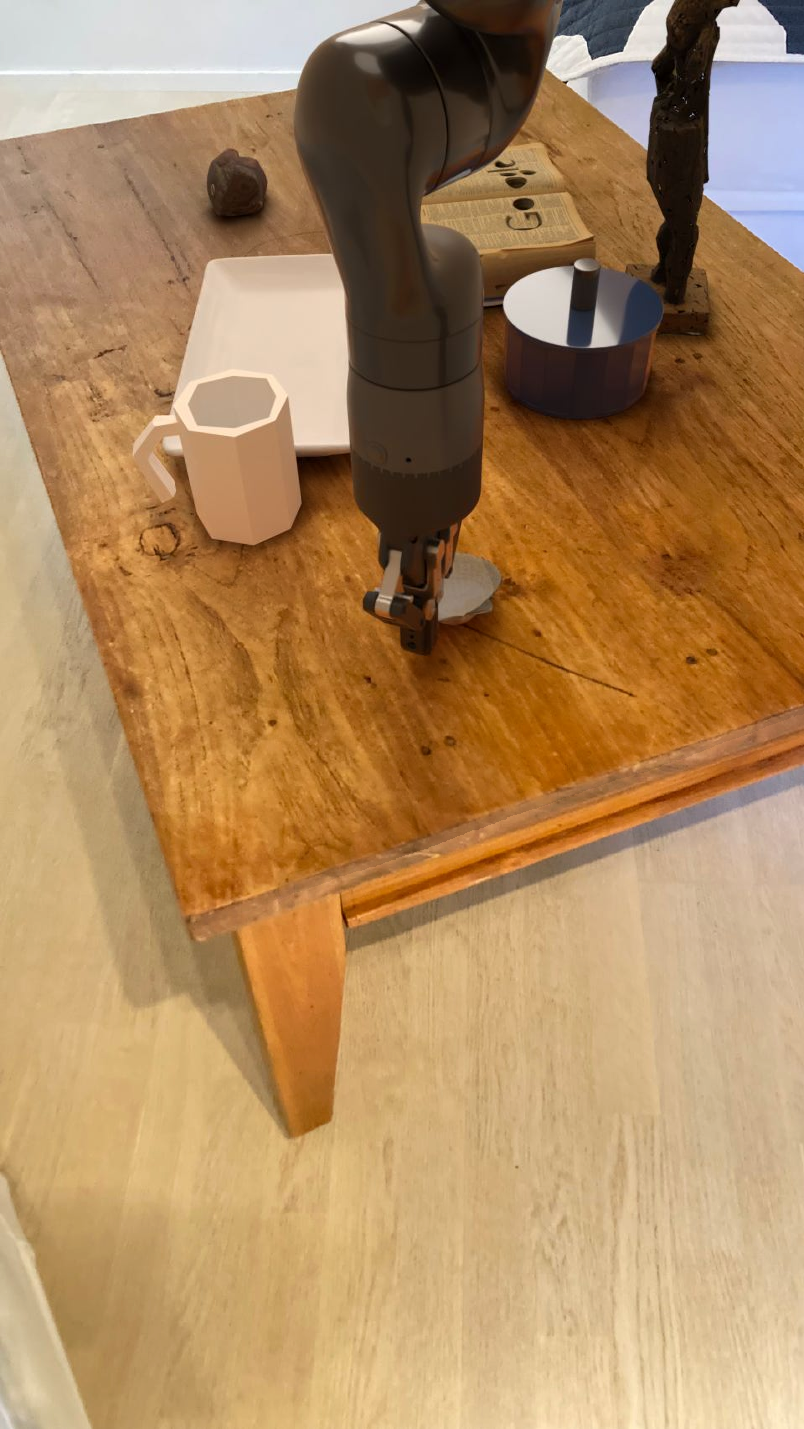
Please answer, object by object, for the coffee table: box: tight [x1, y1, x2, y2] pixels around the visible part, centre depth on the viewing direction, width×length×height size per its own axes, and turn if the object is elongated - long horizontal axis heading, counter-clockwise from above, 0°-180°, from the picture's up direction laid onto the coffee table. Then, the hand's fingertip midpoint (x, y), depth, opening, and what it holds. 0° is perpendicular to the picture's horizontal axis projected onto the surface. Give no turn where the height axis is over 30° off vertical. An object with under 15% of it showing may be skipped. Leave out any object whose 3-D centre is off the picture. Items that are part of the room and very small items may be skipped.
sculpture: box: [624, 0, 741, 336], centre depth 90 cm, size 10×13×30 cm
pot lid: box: [502, 258, 664, 353], centre depth 88 cm, size 13×13×5 cm
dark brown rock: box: [206, 147, 268, 217], centre depth 116 cm, size 6×7×10 cm
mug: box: [131, 369, 302, 546], centre depth 80 cm, size 12×9×10 cm
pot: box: [502, 321, 657, 421], centre depth 92 cm, size 13×13×6 cm
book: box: [421, 141, 597, 307], centre depth 108 cm, size 25×17×6 cm
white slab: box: [161, 253, 350, 458], centre depth 94 cm, size 17×32×4 cm, turn 0°
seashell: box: [438, 551, 503, 626], centre depth 75 cm, size 8×3×8 cm
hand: (419, 645), depth 72 cm, fingers closed
